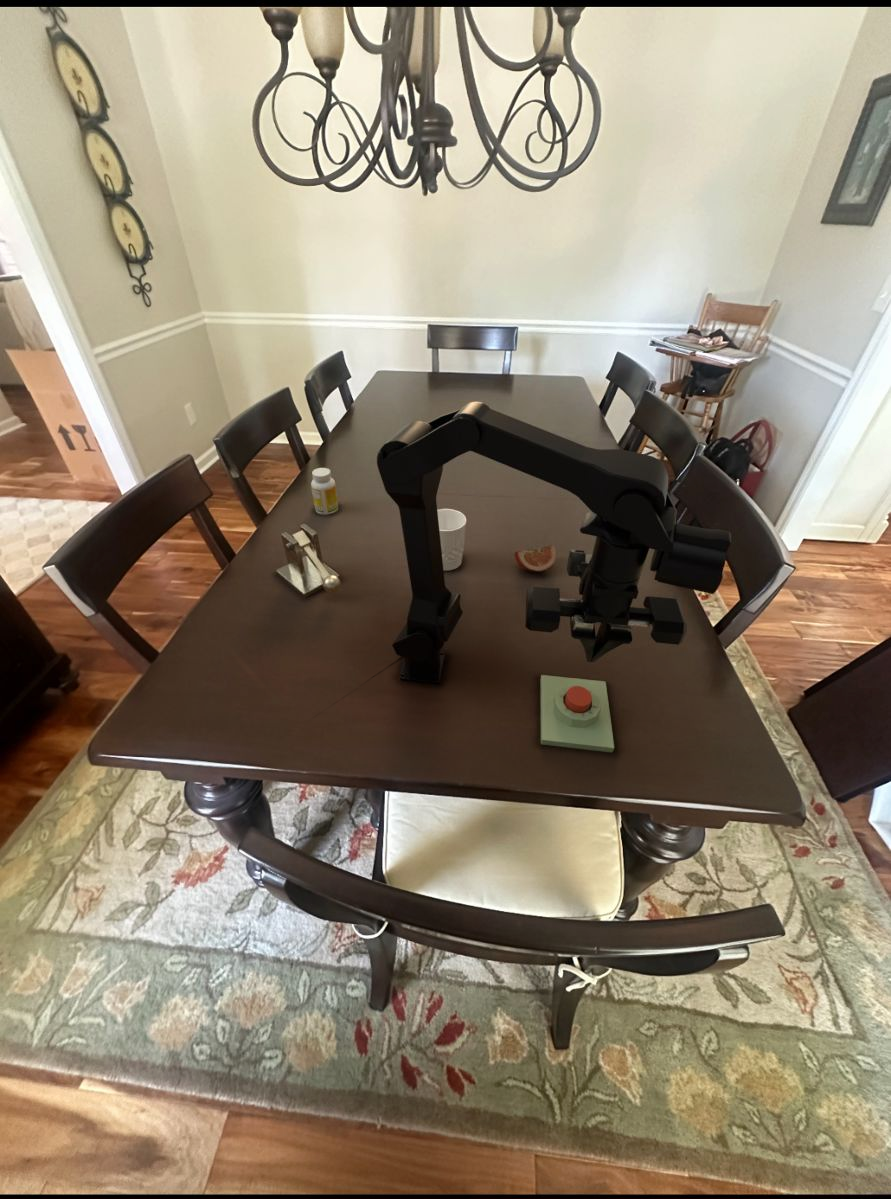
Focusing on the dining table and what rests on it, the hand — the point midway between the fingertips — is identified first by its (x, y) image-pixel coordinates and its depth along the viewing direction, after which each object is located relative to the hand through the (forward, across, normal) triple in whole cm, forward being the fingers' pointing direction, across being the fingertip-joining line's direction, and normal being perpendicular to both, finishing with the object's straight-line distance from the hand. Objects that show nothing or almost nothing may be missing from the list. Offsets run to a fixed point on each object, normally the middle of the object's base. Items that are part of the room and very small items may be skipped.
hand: (589, 659), depth 69 cm
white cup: (+12, +24, -35) cm, 44 cm away
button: (+9, 0, 0) cm, 9 cm away
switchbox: (+12, 0, 0) cm, 12 cm away
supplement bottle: (+12, +54, -51) cm, 75 cm away
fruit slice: (+12, +6, -35) cm, 38 cm away
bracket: (+12, +50, -26) cm, 58 cm away
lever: (+7, +47, -24) cm, 53 cm away
